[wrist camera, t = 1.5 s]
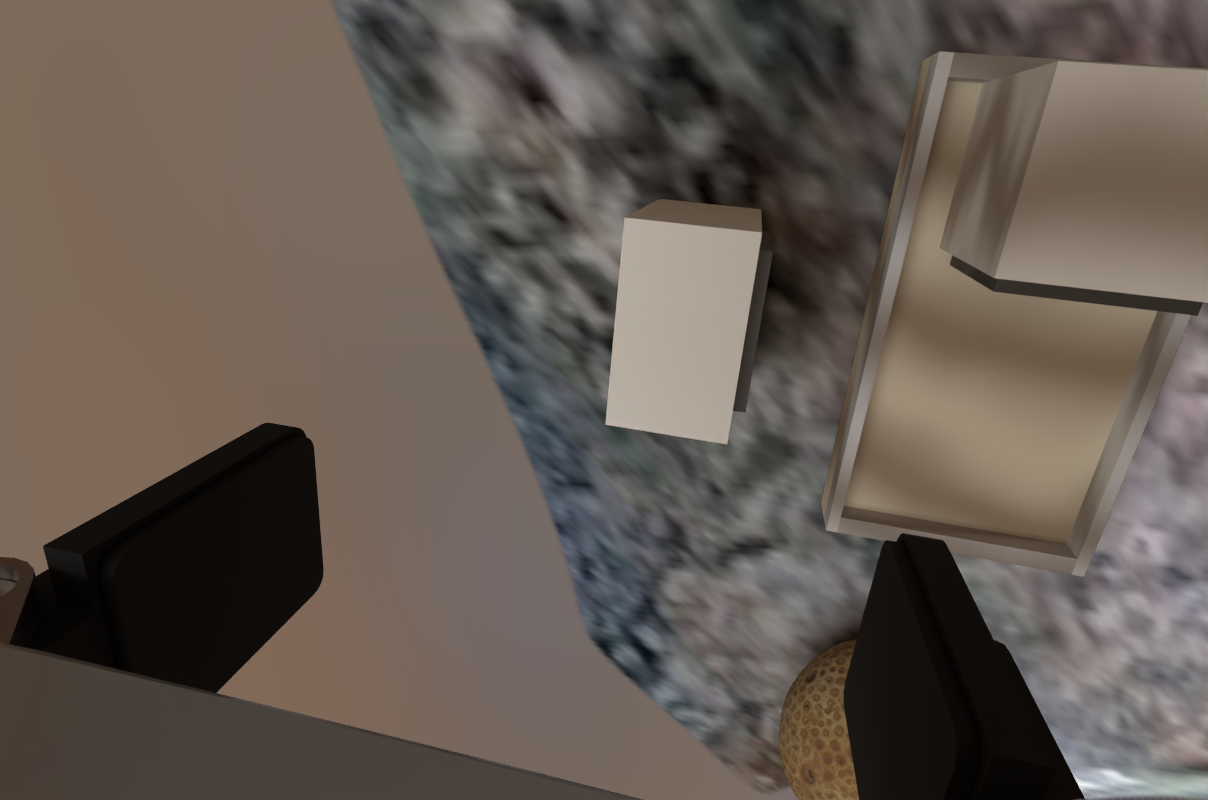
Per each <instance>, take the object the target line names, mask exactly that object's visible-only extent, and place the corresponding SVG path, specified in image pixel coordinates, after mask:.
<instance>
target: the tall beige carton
mask: <svg viewBox="0 0 1208 800" xmlns="http://www.w3.org/2000/svg"><path fill="white" fill-rule="evenodd" d="M772 255H773V247H772V240H771V233H770V232H768V231H762V215H761V209H753V208H743V207H734V206H724V205H714V204H705V203H695V202H686V201H676V200H667V199H659V200H657V201H656V202H654V203H652V204H650V205H648V206H646V207H644V208H642V209H640V210H638V211H636V212H634V213H632V214H630V215H628V216H626V217H625V218H624V229H623V240H622V251H621V262H620V272H619V283H618V294H617V305H616V316H615V327H614V338H613V349H612V359H611V370H610V381H609V392H608V403H607V414H606V425H611V426H617V427H624V428H630V429H636V430H642V431H648V432H654V433H660V434H667V435H673V436H679V437H685V438H691V439H697V440H703V441H710V442H716V443H722V444H727V442H728V436H729V430H730V424H731V418H732V412H733V411H739V412H745V411H746V405H747V399H748V394H749V388H750V382H751V376H752V370H753V365H754V359H755V353H756V347H757V342H758V336H759V330H760V324H761V319H762V313H763V307H764V301H765V295H766V290H767V284H768V278H769V272H770V267H771V261H772Z"/></svg>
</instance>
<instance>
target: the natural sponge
mask: <svg viewBox="0 0 1208 800" xmlns="http://www.w3.org/2000/svg"><path fill="white" fill-rule="evenodd" d="M855 644H856V640H850V641H844V642H842V643H839V644H837V645H835V646H833V647H831V648H829V649H827V650H825V651H824V652H822V653H821V654H820V655H818V656H817V657H816V658H815V659H813V660H812V661H811V662H810V663H809V664H808V666H806V668H805V669H803V670H802V671H801V673H800V674H799V675H798V677H797V678H796V680H795V681H794V682H793V684H792V686H791V688H790V689H789V691H788V694H787V696H786V699H785V702H784V705H783V708H782V712H781V720H780V732H779V738H780V751H781V759H782V764H783V768H784V772H785V775H786V778H787V780H788V782H789V784H790V787H791V788H792V790H793V792H794V793H795V795H796V797H797V798H798V799H799V800H859V796H858V790H857V784H856V777H855V771H854V765H853V759H852V753H851V747H850V741H849V735H848V729H847V723H846V716H845V710H844V686H845V681H846V677H847V673H848V669H849V666H850V662H851V658H852V655H853V651H854V647H855Z"/></svg>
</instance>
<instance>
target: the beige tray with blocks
mask: <svg viewBox="0 0 1208 800" xmlns="http://www.w3.org/2000/svg"><path fill="white" fill-rule="evenodd" d="M1203 302H1205V303H1208V68H1193V67H1177V66H1161V65H1146V64H1130V63H1114V62H1098V61H1083V60H1067V59H1051V58H1035V57H1020V56H1004V55H988V54H972V53H957V52H941V51H939V52H937V53H936V54H934V55H932V56H930V57H928V58H926V59H924V60H923V61H922V66H921V70H920V74H919V79H918V83H917V87H916V92H915V96H914V100H913V105H912V109H911V113H910V118H909V122H908V126H907V131H906V135H905V140H904V144H903V148H902V153H901V157H900V161H899V166H898V170H897V174H896V179H895V183H894V187H893V192H892V196H891V200H890V205H889V209H888V214H887V218H886V222H885V227H884V231H883V235H882V240H881V244H880V248H879V253H878V257H877V261H876V266H875V270H874V274H873V279H872V283H871V288H870V292H869V296H868V301H867V305H866V309H865V314H864V318H863V322H862V327H861V331H860V335H859V340H858V344H857V348H856V353H855V357H854V362H853V366H852V370H851V375H850V379H849V383H848V388H847V392H846V396H845V401H844V405H843V409H842V414H841V418H840V422H839V427H838V431H837V436H836V440H835V444H834V449H833V453H832V457H831V462H830V466H829V470H828V475H827V479H826V483H825V488H824V492H823V496H822V501H821V505H822V510H823V516H824V522H825V527H826V530H827V531H833V532H838V533H844V534H849V535H855V536H860V537H866V538H872V539H877V540H883V541H886V540H889V541H895V542H896V541H897V539H898V537H899V535H900V534H902V533H905V534H911V535H917V536H922V537H928V538H934V539H940V540H944V542H945V543H946V545H947V547H948V549H949V551H950V553H955V554H961V555H966V556H972V557H977V558H983V559H989V560H994V561H1000V562H1005V563H1011V564H1016V565H1022V566H1028V567H1033V568H1039V569H1044V570H1050V571H1055V572H1061V573H1067V574H1072V575H1078V576H1083V577H1084V575H1085V573H1086V570H1087V568H1088V565H1089V563H1090V561H1091V558H1092V556H1093V553H1094V551H1095V548H1096V546H1097V544H1098V541H1099V539H1100V536H1101V534H1102V531H1103V529H1104V527H1105V524H1106V522H1107V519H1108V517H1109V514H1110V512H1111V510H1112V507H1113V505H1114V502H1115V500H1116V497H1117V495H1118V492H1119V490H1120V488H1121V485H1122V483H1123V480H1124V478H1125V475H1126V473H1127V471H1128V468H1129V466H1130V463H1131V461H1132V458H1133V456H1134V454H1135V451H1136V449H1137V446H1138V444H1139V441H1140V439H1141V437H1142V434H1143V432H1144V429H1145V427H1146V424H1147V422H1148V420H1149V417H1150V415H1151V412H1152V410H1153V407H1154V405H1155V403H1156V400H1157V398H1158V395H1159V393H1160V390H1161V388H1162V385H1163V383H1164V381H1165V378H1166V376H1167V373H1168V371H1169V368H1170V366H1171V364H1172V361H1173V359H1174V356H1175V354H1176V351H1177V349H1178V347H1179V344H1180V342H1181V339H1182V337H1183V334H1184V332H1185V330H1186V327H1187V325H1188V322H1189V320H1190V317H1191V315H1195V316H1197V315H1198V313H1199V311H1200V308H1201V306H1202V303H1203Z"/></svg>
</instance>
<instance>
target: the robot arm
mask: <svg viewBox="0 0 1208 800" xmlns="http://www.w3.org/2000/svg"><path fill="white" fill-rule="evenodd" d="M317 495H318V494H317V483H316V468H315V456H314V446H313V443H312V441H311V440H310V439H309V438H306V435H305V433H304V431H303V430H301V429H300V428H296V427H290V426H285V425H279V424H273V423H264V424H262V425H260V426H258V427H256V428H254V429H253V430H251V431H249V432H247V433H245V434H244V435H242V436H240V437H238V438H236V439H235V440H233V441H231V442H229V443H227V444H226V445H224V446H222V447H220V448H218V449H217V450H215V451H213V452H211V453H210V454H208V455H206V456H204V457H202V458H201V459H199V460H197V461H195V462H193V463H191V464H190V465H188V466H186V467H184V468H182V469H181V470H179V471H177V472H175V473H173V474H172V475H170V476H168V477H166V478H165V479H163V480H161V481H159V482H157V483H155V484H154V485H152V486H150V487H149V488H147V489H145V490H143V491H141V492H139V493H138V494H136V495H134V496H132V497H130V498H129V499H127V500H125V501H123V502H121V503H120V504H118V505H116V506H114V507H112V508H111V509H109V510H107V511H105V512H103V513H102V514H100V515H98V516H96V517H94V518H93V519H91V520H89V521H87V522H85V523H84V524H82V525H80V526H78V527H76V528H75V529H73V530H71V531H69V532H68V533H66V534H64V535H62V536H60V537H58V538H57V539H55V540H53V541H51V542H49V543H48V544H46V545H44V546H43V548H44V552H45V555H46V560H47V564H48V567H49V569H48V570H46V571H44V572H43V573H41V574H39V575H38V576H35V572H34V569H33V567H32V566H31V565H30V564H29V563H28V562H26V561H23V560H20V559H17V558H9V557H0V800H643V799H639V798H635V797H630V796H627V795H623V794H619V793H615V792H611V791H607V790H603V789H599V788H596V787H591V786H588V785H583V784H580V783H576V782H572V781H568V780H564V779H560V778H556V777H552V776H549V775H545V774H541V773H536V772H533V771H529V770H525V769H521V768H517V767H513V766H509V765H505V764H501V763H497V762H493V761H489V760H485V759H481V758H477V757H473V756H469V755H465V754H461V753H457V752H453V751H449V750H445V749H441V748H437V747H433V746H429V745H425V744H421V743H417V742H413V741H409V740H405V739H401V738H397V737H393V736H389V735H385V734H381V733H377V732H373V731H369V730H365V729H360V728H357V727H353V726H349V725H345V724H341V723H337V722H332V721H329V720H324V719H321V718H316V717H312V716H308V715H304V714H300V713H296V712H292V711H288V710H284V709H280V708H276V707H272V706H267V705H263V704H259V703H255V702H251V701H247V700H243V699H238V698H235V697H230V696H226V695H222V694H218V693H217V691H219V689H221V687H222V686H224V684H225V683H226V682H227V681H228V680H229V679H230V678H231V677H232V676H233V675H234V674H235V673H236V672H237V671H238V670H239V669H240V668H241V667H242V666H243V665H244V664H245V663H246V662H247V661H248V660H249V659H250V658H251V657H252V656H253V655H254V654H255V653H256V652H257V651H258V650H259V649H260V648H261V647H262V646H263V645H264V644H265V643H266V642H267V641H268V640H269V639H270V638H271V637H272V636H273V635H274V634H275V633H276V632H277V631H278V630H279V629H280V628H281V627H282V626H283V625H284V624H285V623H286V622H287V621H288V620H289V619H290V618H291V617H292V616H293V615H294V614H295V613H296V612H297V611H298V610H299V609H300V608H301V607H302V606H303V605H304V604H305V603H306V602H307V601H308V600H309V599H310V598H311V597H312V596H313V595H314V594H315V592H316V591H317V590H318V588H319V586H320V584H321V581H322V578H323V558H322V546H321V534H320V520H319V507H318V496H317ZM844 710H845V716H846V723H847V729H848V735H849V741H850V747H851V753H852V759H853V765H854V771H855V777H856V784H857V790H858V796H859V800H1086V799H1085V798H1084V796H1083V794H1082V792H1081V790H1080V788H1079V786H1078V784H1077V782H1076V780H1075V778H1074V777H1073V775H1072V773H1071V771H1070V769H1069V767H1068V765H1067V763H1066V761H1065V759H1064V757H1063V755H1062V753H1061V751H1060V749H1059V747H1058V745H1057V743H1056V741H1055V739H1054V738H1053V736H1052V734H1051V732H1050V730H1049V728H1048V726H1047V724H1046V722H1045V720H1044V718H1043V716H1042V714H1041V712H1040V710H1039V708H1038V706H1037V704H1036V702H1035V700H1034V699H1033V697H1032V695H1031V693H1030V691H1029V689H1028V687H1027V685H1026V683H1025V681H1024V679H1023V677H1022V675H1021V673H1020V671H1019V669H1018V667H1017V665H1016V663H1015V661H1014V660H1013V658H1012V656H1011V654H1010V652H1009V651H1008V649H1007V648H1006V646H1005V645H1004V644H1002V643H1000V642H998V641H994V640H993V638H992V636H991V634H990V632H989V630H988V628H987V626H986V624H985V622H984V620H983V618H982V616H981V614H980V612H979V609H978V607H977V605H976V603H975V601H974V599H973V597H972V595H971V593H970V591H969V589H968V587H967V585H966V583H965V581H964V579H963V577H962V575H961V573H960V571H959V569H958V567H957V565H956V563H955V561H954V559H953V557H952V555H951V553H950V551H949V549H948V547H947V545H946V543H945V542H944V540H940V539H934V538H928V537H922V536H917V535H911V534H905V533H902V534H900V535H899V537H898V539H897V541H896V542H895V541H889V540H886V541H885V542H884V544H883V546H882V549H881V553H880V556H879V560H878V564H877V567H876V571H875V574H874V578H873V582H872V585H871V589H870V593H869V596H868V600H867V604H866V607H865V611H864V615H863V618H862V622H861V626H860V629H859V633H858V637H857V640H856V644H855V647H854V651H853V655H852V658H851V662H850V666H849V669H848V673H847V677H846V681H845V686H844Z"/></svg>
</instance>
